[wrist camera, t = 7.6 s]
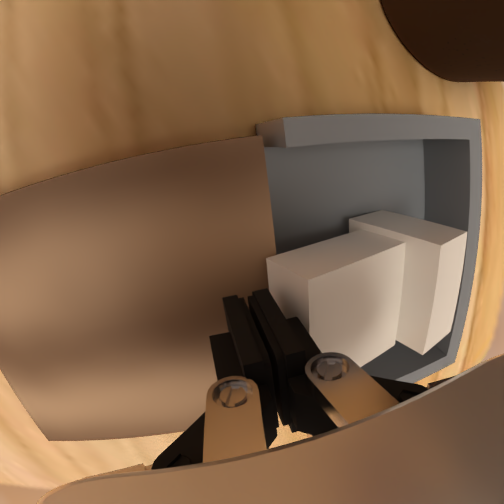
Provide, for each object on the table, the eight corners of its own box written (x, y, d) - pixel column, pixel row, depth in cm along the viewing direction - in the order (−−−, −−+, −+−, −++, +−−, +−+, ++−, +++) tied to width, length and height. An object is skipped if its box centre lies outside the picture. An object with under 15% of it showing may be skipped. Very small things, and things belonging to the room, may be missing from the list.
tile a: (266, 258, 12) (307, 280, 10) (361, 229, 14) (405, 242, 12) (275, 364, 14) (309, 396, 11) (358, 324, 16) (394, 344, 14)
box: (255, 124, 13) (282, 117, 10) (427, 118, 15) (480, 119, 11) (284, 376, 18) (306, 423, 15) (419, 331, 20) (454, 362, 16)
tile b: (440, 245, 10) (467, 231, 11) (348, 219, 14) (382, 210, 16) (422, 355, 12) (450, 331, 13) (347, 312, 16) (378, 296, 17)
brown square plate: (-26, 205, 11) (-60, 220, 9) (245, 136, 14) (262, 135, 11) (58, 406, 16) (48, 440, 13) (275, 373, 18) (291, 407, 15)
